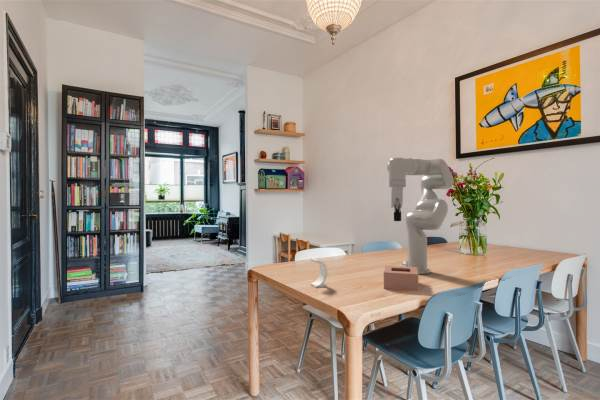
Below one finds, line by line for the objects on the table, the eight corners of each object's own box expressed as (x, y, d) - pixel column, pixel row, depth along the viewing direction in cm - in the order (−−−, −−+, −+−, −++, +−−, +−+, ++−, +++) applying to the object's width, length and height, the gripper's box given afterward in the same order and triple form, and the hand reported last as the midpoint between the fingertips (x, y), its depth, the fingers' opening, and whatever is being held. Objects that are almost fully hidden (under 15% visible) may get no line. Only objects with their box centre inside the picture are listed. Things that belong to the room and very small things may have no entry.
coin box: (383, 288, 140) (383, 272, 140) (385, 280, 153) (385, 265, 153) (418, 291, 136) (418, 274, 136) (416, 282, 149) (416, 267, 149)
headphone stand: (310, 285, 146) (310, 258, 146) (321, 283, 149) (321, 257, 149) (316, 287, 142) (315, 260, 142) (327, 285, 145) (327, 259, 145)
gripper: (389, 184, 163) (390, 218, 163) (388, 183, 146) (388, 221, 147) (405, 184, 160) (405, 218, 161) (405, 183, 144) (406, 221, 144)
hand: (397, 220), depth 154 cm, fingers open, 9 cm apart
